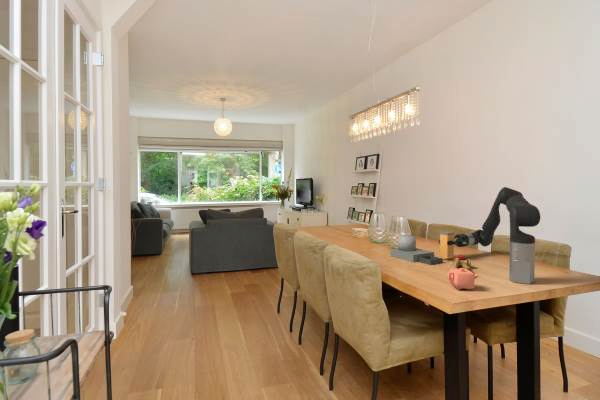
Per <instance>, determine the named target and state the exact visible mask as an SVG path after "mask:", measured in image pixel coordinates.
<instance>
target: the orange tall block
mask: <svg viewBox="0 0 600 400" xmlns="http://www.w3.org/2000/svg"><path fill="white" fill-rule="evenodd" d="M454 236H455V232H452V231H440V232H439V240H440V244H439V258H443V259H444V258H445V259H452V258H453V259H454V257H455V255H454V253H455V250H454V249H455V248H454V247H455V245H447V241H453V240H454Z"/></svg>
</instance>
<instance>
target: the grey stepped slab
mask: <svg viewBox="0 0 600 400" xmlns="http://www.w3.org/2000/svg"><path fill="white" fill-rule="evenodd" d="M397 243H398V244H397V245H398V246H397V248H391V249H390V257H393V258H397V259H400V260H402V261H403V260H404V261H407V262H411V263H417V262H418V263H422V264H426V265H429V266H432V265H433V266H434V265H439V264H443V263H444V262H443V261H444V258H443V257H440V256H435V252H434V251H430V250H426V249H421V248H417V237H416V235H410V234H400V235H398V240H397Z"/></svg>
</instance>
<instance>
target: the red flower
mask: <svg viewBox="0 0 600 400" xmlns="http://www.w3.org/2000/svg"><path fill="white" fill-rule="evenodd" d="M452 260H453V261H452V262H453V264H454V267H462V268H464V269H467V270H469V271H471V272H472V273H473V270H472V268H471V265H472V261H471V259H470V258H469V259H468V258H467V259H466V257H465V256H464V255H462V254H456V255H454V257H453V259H452Z"/></svg>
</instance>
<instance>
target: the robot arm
mask: <svg viewBox="0 0 600 400" xmlns="http://www.w3.org/2000/svg"><path fill="white" fill-rule="evenodd" d="M501 204H502V205H504V206H505V207H506V210H507V211H508V212H509V215H508V216H509V265H508V267H509V272H508V273H509V274H508V275H509V276H508V277H509V278H508V279H509V281H511V282H513V283H518V284H519V283H520V284H527V285H531V284H534V283H535V267H536V266H535V262H536V261H535V259H536V257H535V255H536V238H535V237H536V236H534V235H532V234H529V233H526V232H523V231H522V230H521V229H520V227H523V228H525V227H527V228H533V227H537V226H538V225H539V224H540V222H541V213H540V210H539V208H538V207H537V206H535V205H534V204H532V203H530V202H529V201H528V200H527V199H526V198H525V197H524V194H523V193H522V192H521V191H518V190H515V189H512V188H509V187H506V186H504V187H502V188H501V189H500V190H499V192H498V193H497V196H496V197H495V200H494V202H493V205H492V207H491V209H490V211H489V214H488V215H487V217H486V219H485V221H484V222H483V224H482V226H481V229H477V230H475V231H474V232H471V233H457V234H454V240H453V241H447V245H454V246H456V247H458V248H465V247H469V246H470V247H471V246H476V245H478V244H480V245H481V246H482V247H488V246H490V245H491V244H492V242H493V239H494V236H495V232H496V230H497V228H498V227H499V225H500V224H501V215H500V214H501V213H500V206H501ZM438 244H439V245H440V239H438Z"/></svg>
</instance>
